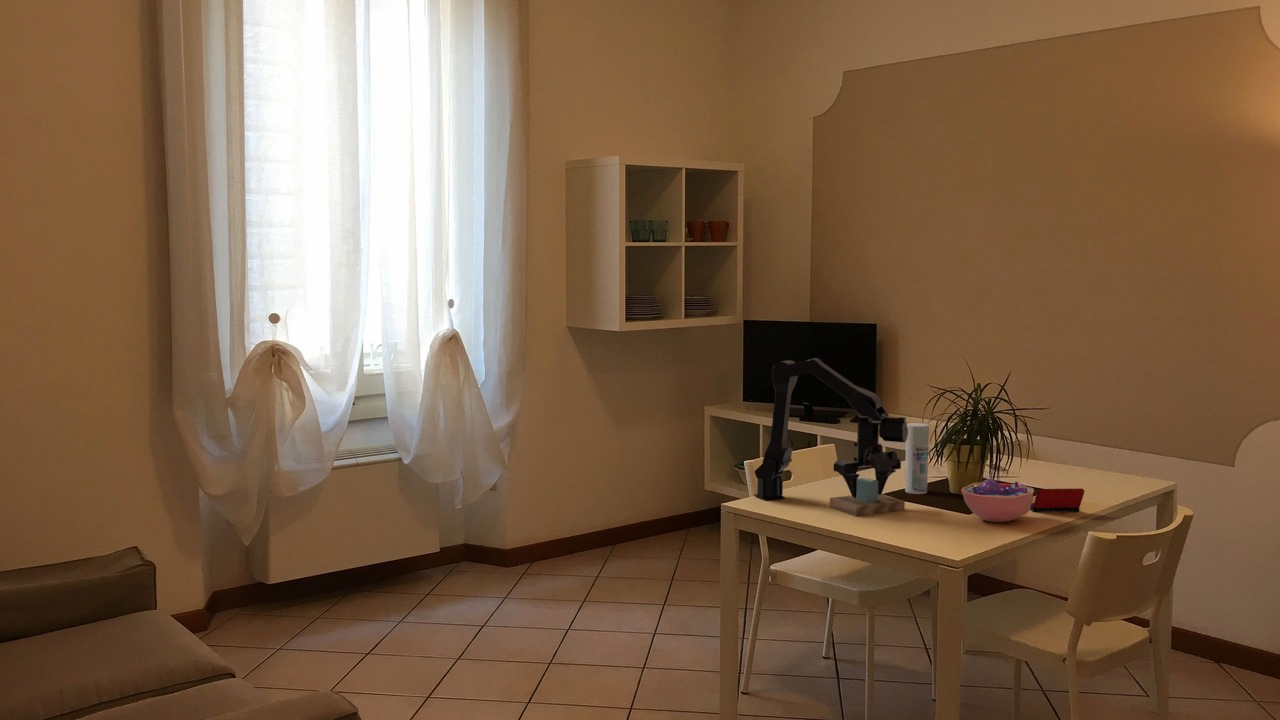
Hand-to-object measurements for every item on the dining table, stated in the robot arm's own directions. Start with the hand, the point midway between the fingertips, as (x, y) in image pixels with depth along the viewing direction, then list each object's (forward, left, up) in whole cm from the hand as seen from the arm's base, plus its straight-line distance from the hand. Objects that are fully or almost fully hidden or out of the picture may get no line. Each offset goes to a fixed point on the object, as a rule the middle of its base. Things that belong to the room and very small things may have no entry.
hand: (866, 496), depth 277 cm
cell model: (+23, -25, -4) cm, 34 cm away
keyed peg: (0, 0, -4) cm, 4 cm away
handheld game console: (+44, -23, -4) cm, 50 cm away
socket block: (0, 0, -4) cm, 4 cm away
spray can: (+26, +11, -4) cm, 28 cm away
